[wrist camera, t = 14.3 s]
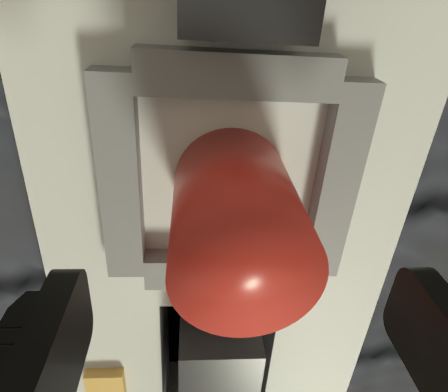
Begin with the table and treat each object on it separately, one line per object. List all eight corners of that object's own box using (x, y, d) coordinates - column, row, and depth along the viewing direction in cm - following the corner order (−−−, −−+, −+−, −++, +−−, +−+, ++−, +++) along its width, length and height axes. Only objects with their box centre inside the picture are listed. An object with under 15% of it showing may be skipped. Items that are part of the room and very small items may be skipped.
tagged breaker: (182, 356, 29) (178, 475, 22) (182, 250, 24) (178, 360, 17) (234, 355, 29) (247, 471, 22) (245, 250, 24) (266, 358, 18)
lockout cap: (174, 126, 14) (163, 210, 9) (290, 129, 15) (344, 212, 9) (175, 224, 16) (166, 339, 11) (276, 225, 17) (313, 336, 12)
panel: (104, 371, 30) (76, 499, 22) (20, -189, 14) (-164, -369, 7) (305, 366, 31) (339, 484, 24) (432, -149, 16) (644, -261, 8)
